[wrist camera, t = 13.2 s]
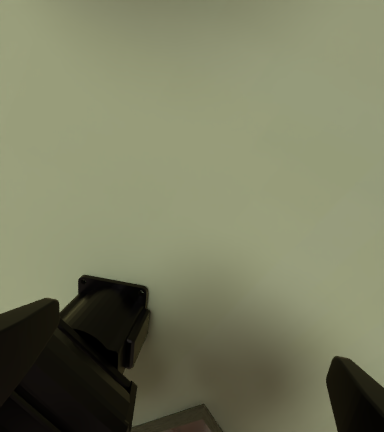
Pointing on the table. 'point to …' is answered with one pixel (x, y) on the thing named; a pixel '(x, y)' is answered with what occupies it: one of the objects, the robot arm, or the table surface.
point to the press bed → (182, 422)
